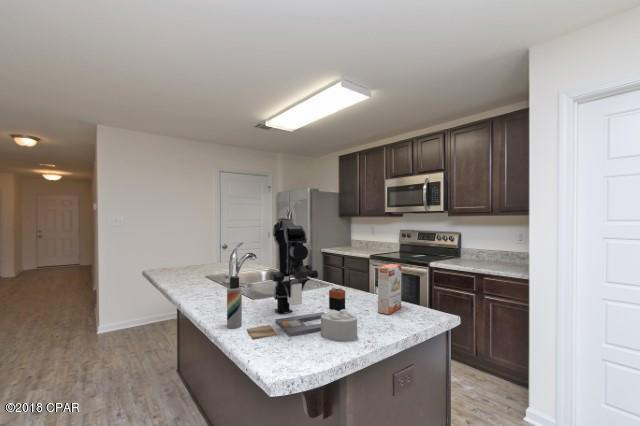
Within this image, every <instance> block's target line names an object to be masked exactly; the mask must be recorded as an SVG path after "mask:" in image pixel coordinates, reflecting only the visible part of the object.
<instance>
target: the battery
mask: <svg viewBox="0 0 640 426" xmlns="http://www.w3.org/2000/svg"><path fill="white" fill-rule="evenodd" d="M328 309H329V310H336V311H339V312H340V310H342V309H345V310H346V290H345V289H343V288H341V287H338V288H336V287H331V289H329V290H328Z"/></svg>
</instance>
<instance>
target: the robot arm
mask: <svg viewBox="0 0 640 426" xmlns="http://www.w3.org/2000/svg"><path fill="white" fill-rule="evenodd" d="M303 227H304V226H302V225H299V224H298V225H297V224H294V223H293V222H292V220H291V219H290V218H280V219H278V222H276V223H275V224H274V225H273V228H272V237H273V239H274V242H275V244H276V245H277V258H278V262H277V263H278V271H273V272H270V274H269V280H270V281H272V282H275V286H274V289H273V299H274V300H276V301H277V303H276V305H277V307H276V308H274V310H275V312H276V313H277V314H279V315H280V314H288V313H293V310H292V309H291V307H290V306H291V304H289V303H288V297H289V298H290V295H291V293H290V283H291V279H298V282H299V283H301V284H302V291H303V290H304V287H305V285H306V283H307V282H308V281H310V280H311V279H316V278H319V271H318V270H316V269H314V268H313V267H312V265H311V264H306V265H305V264H304V260H306V258H307V257H308V255H309V251H308V247H306V246H305V245H304V244H307V243H308V237H307V233H306V231H305V229H304V228H303ZM309 277H310V278H311V279H310V278H309Z"/></svg>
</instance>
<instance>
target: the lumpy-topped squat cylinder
mask: <svg viewBox="0 0 640 426" xmlns="http://www.w3.org/2000/svg"><path fill="white" fill-rule="evenodd" d="M324 313H325V314H324V315H322V316H321V319H320V323H321V331H320V337H321V338H322V339H325V340H329V341H333V342H341V343H342V342H344V343H345V342H353V341H356V340H357V339H358V318H357V317H358V316H356V315H354V314H352V313H351V312H349V311H348V310H347V309H346V308H345V309H342V310H340V311H337V310H332V309H330V310H329V311H327V312H324Z"/></svg>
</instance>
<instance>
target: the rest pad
mask: <svg viewBox="0 0 640 426" xmlns="http://www.w3.org/2000/svg"><path fill="white" fill-rule="evenodd" d="M246 332H247V333H248V334H249V336H250V337H251V339H252V340H257V339H264V338H270V337H274V336H278V333H277V331H275V330H274V328H273V327H272V326H271V325H269V324H268V325H263V326H257V327H250V328H246Z"/></svg>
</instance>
